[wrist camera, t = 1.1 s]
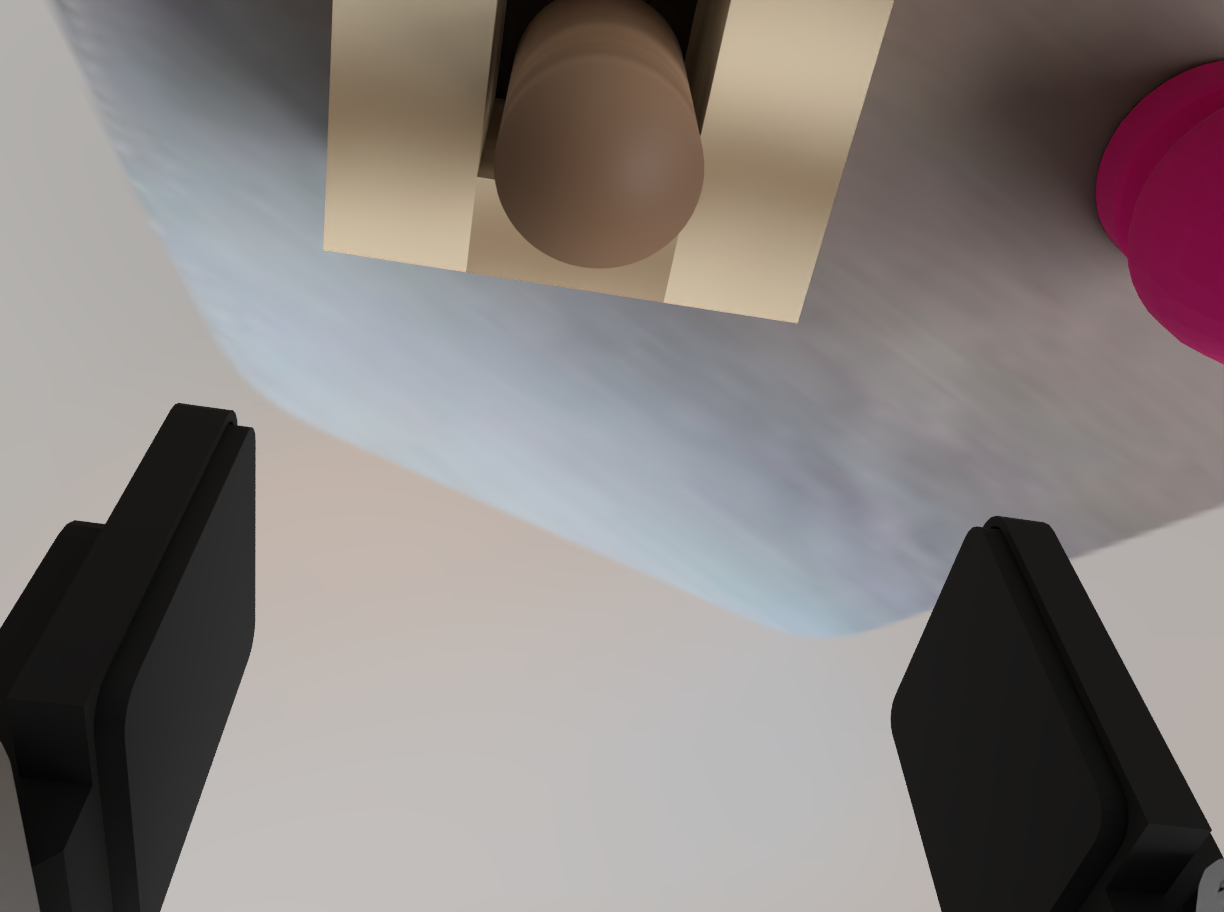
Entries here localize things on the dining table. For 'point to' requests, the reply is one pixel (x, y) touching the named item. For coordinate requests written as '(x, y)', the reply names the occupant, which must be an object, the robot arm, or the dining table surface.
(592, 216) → the walnut peg
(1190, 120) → the pepper mill
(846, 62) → the oak socket block
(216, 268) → the dining table surface
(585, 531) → the dining table surface
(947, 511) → the dining table surface
